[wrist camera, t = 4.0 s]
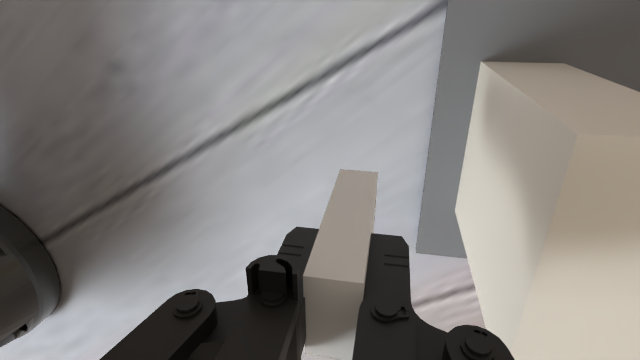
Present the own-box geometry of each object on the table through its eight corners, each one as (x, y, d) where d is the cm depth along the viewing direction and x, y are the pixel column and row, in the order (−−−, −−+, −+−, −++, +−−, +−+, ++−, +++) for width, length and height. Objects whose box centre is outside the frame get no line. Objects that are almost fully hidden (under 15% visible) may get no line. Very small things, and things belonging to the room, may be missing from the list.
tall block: (454, 210, 24) (501, 384, 13) (480, 61, 20) (578, 133, 9) (523, 216, 23) (631, 404, 12) (564, 63, 19) (775, 143, 8)
